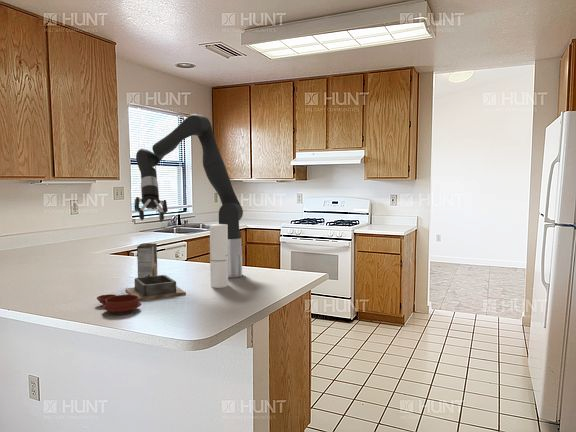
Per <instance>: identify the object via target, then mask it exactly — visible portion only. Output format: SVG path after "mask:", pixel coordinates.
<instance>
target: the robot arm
mask: <svg viewBox="0 0 576 432" xmlns="http://www.w3.org/2000/svg"><path fill="white" fill-rule="evenodd" d="M192 136H196V137H197V139H198V140H199V143H200V145H201V147H202V148H201V149H202V166H203V169H204V173H205V175H206V178H207V180H208V181H209V183H210V185H211V186H212V188H213V189H214V190H215V192H216V193H217V194H218V197H219V199H220V202H221V206H220V207H219V210H218V224H227V225H228V279H229V278H231V279H232V278H241V277H242V276H243V254H242V231H241V229H240V220H241V219H242V218H243V215H244V210H243V207H242V205H241V203H240V201H239V199H238V197H237V195H236V193H235V191H234V188H233V186H232V185H233V184H232V181H231V179H230V177H229V173H228V170H227V168H226V165H225V163H224V160H223V158H222V155H221V153H220V152H221V151H220V150H219V146H218V144H217V142H216V139H215V134H214V130H213V128H212V123H211V121H210V120H209V118H208V117H207V116H205V115H204V114H203V115H202V114H197V113H193V114H190V115H188V116H187V117H186V118H185V119H184V120H183V121H181V123H179V125H177V127H175V129H174V130H172V131H171V132H170V133H168V134H167V135H165V136H164V137H163V138H161V139H160V140H158V141H157V142H155V143H154V144H153V145H152V148H151V150H152V151H150V150H149V149H147V148H145V147H144V148H140V149H138V150H137V152H136V154H135V160H136V163H137V167H138V169H139V171H140V190H141V198H140V197H139V196H136V197H135V199H134V211H135V212H138V215H139V220H140V221H144V219H145V215H144V214H145V213H144V210H145V209H148V210H149V209H151V210H155V211H156V212H158V214H159V215H158V218H159V222H160V223H162V222H163V220H165V214H167V212H168V211H169V210H168V204H167V200H166V199H164V200H160V193H159V192H160V191H159V182H158V177H157V176H158V175H157V174H158V173H157V170H156V168H155V167H156V166H158V165H159V163H161V161H162V160H163V158H164V157H166V156H167V155H168V154H170V153H172V152H173V151H174V150H176V148H177V147H178V146H179V145H180V143H181V142H183V140H185V139H188V138H189V137H192ZM140 203H142V206H141V207H140Z"/></svg>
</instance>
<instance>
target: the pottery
mask: <svg viewBox="0 0 576 432" xmlns="http://www.w3.org/2000/svg"><path fill="white" fill-rule="evenodd" d="M138 298H139V297H138V296H136V295H129V294H120V295H119V294H118V295H116V294H101V295H99V296H97V297H96V300H97V301H98V303H100V304H101V305H103V306H102V309H103V310H104V311H106V312H107V311H108V312H112V313H113V314H115V315H124V314H125V315H126V314H129V313H132V311H133V310H135V309H137V308H139V307H141V306H142V303H141V301H139V299H138Z"/></svg>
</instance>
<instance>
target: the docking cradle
mask: <svg viewBox="0 0 576 432" xmlns="http://www.w3.org/2000/svg"><path fill="white" fill-rule="evenodd" d="M157 275H158V274H157ZM125 292H126V293H127V295H136V296H138V297H139V298H138V299H139V302H143V301H152V300H157V299H165V298H172V297H178V296H186V295H187V293H186V292H187V291H185V290H183V289H181V287H178V286H177V281H176V280H174V279H173V278H171V277H170V276H168V275H166V274H159V275H158V276H149V277H140V278H138V277H136V278H134V287H128V288H125Z"/></svg>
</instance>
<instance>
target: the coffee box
mask: <svg viewBox="0 0 576 432" xmlns="http://www.w3.org/2000/svg"><path fill="white" fill-rule="evenodd" d="M157 249H158V248H157V243H150V242H148V243H144V242H143V243H141V244H139V245H138V246H136V252H137V253H136V255H137V257H136V258H137V278H140V277H149V276H158V251H157Z"/></svg>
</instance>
